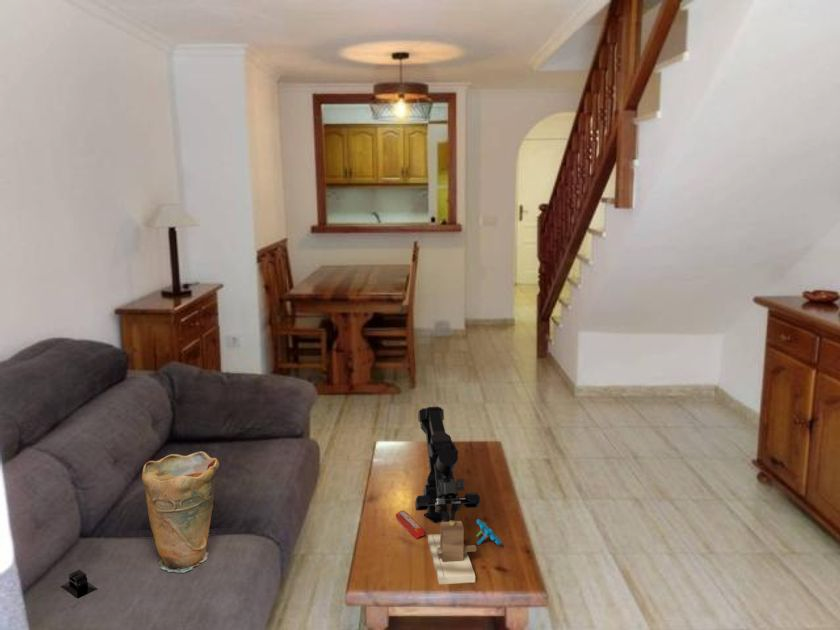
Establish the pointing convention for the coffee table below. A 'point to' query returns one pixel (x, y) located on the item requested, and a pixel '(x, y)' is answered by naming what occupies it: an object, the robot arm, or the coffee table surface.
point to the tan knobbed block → (453, 541)
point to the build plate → (78, 584)
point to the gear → (486, 533)
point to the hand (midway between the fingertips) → (450, 530)
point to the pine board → (450, 565)
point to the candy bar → (410, 524)
